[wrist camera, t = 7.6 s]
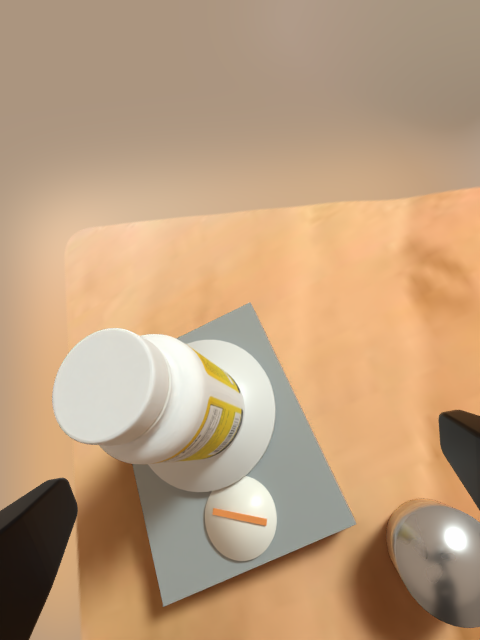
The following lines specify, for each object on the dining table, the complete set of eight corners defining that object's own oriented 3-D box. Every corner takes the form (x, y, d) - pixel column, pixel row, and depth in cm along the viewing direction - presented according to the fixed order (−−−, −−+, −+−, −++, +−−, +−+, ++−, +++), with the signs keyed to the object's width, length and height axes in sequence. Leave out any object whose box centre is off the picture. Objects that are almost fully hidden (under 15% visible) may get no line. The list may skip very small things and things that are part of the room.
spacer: (502, 579, 16) (537, 605, 13) (417, 613, 16) (434, 644, 14) (444, 485, 18) (464, 490, 15) (370, 516, 18) (376, 527, 15)
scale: (353, 517, 18) (357, 526, 16) (179, 592, 19) (158, 611, 17) (256, 313, 24) (248, 298, 22) (127, 376, 25) (106, 368, 23)
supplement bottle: (162, 374, 21) (45, 321, 13) (242, 361, 20) (174, 294, 12) (162, 464, 19) (21, 475, 11) (251, 455, 18) (177, 458, 10)
